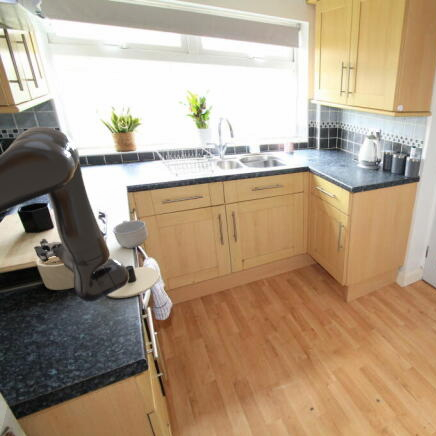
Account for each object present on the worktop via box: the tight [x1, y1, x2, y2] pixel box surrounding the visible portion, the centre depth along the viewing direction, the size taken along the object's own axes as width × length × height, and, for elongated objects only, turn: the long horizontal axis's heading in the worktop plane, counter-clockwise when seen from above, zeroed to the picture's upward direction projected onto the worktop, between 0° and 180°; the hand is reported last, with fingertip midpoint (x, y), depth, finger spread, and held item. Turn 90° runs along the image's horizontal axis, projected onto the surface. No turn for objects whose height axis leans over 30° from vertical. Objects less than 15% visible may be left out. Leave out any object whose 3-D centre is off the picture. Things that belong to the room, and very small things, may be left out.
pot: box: [35, 256, 75, 291], centre depth 102 cm, size 15×20×8 cm
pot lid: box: [106, 265, 161, 299], centre depth 100 cm, size 16×16×6 cm
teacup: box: [112, 219, 149, 249], centre depth 123 cm, size 14×11×8 cm
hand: (62, 236), depth 94 cm, fingers open, 8 cm apart
